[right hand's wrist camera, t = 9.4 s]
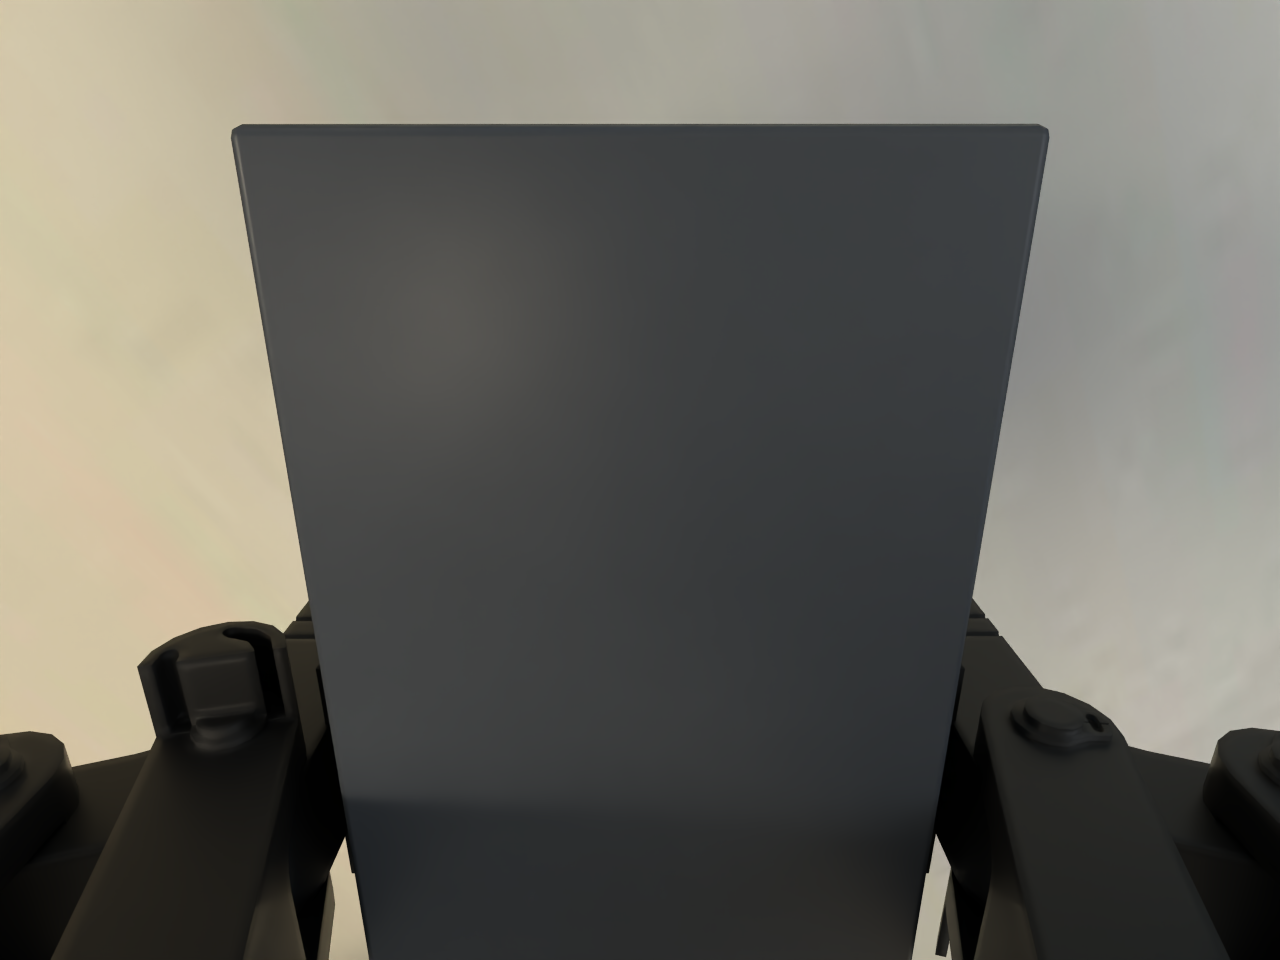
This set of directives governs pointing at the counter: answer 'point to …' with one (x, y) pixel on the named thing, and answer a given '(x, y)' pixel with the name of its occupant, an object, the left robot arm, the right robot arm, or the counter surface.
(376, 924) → the beam
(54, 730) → the counter surface
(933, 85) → the counter surface
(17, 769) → the right robot arm
